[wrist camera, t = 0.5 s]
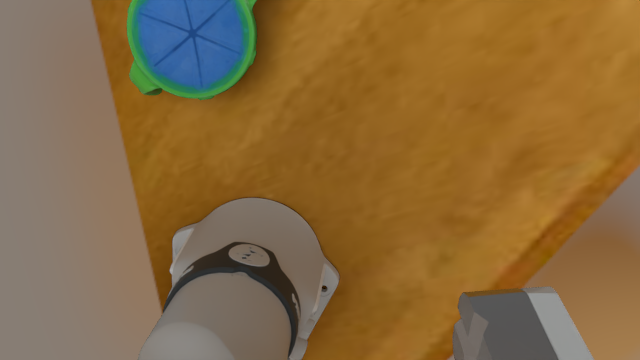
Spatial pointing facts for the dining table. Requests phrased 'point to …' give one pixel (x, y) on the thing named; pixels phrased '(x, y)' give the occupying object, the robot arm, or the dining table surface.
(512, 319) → the robot arm
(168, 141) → the dining table surface
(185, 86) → the snack cup
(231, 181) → the dining table surface
